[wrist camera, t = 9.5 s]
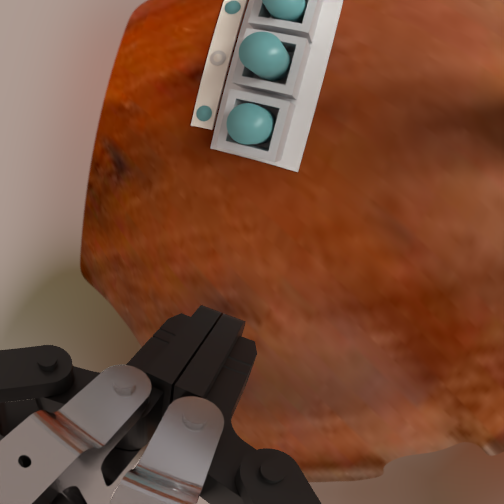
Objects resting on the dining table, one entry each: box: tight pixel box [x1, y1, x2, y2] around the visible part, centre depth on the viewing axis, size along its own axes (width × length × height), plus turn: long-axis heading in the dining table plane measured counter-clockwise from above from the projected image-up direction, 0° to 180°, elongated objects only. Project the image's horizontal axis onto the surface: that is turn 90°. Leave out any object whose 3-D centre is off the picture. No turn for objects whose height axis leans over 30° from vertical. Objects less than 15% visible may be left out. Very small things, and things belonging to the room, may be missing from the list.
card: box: [191, 0, 248, 130], centre depth 37 cm, size 3×20×1 cm, turn 166°
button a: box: [262, 0, 307, 24], centre depth 29 cm, size 5×5×6 cm
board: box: [210, 0, 343, 172], centre depth 34 cm, size 12×25×5 cm, turn 166°
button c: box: [226, 103, 277, 144], centre depth 35 cm, size 5×5×6 cm
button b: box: [239, 32, 292, 81], centre depth 31 cm, size 5×5×6 cm
